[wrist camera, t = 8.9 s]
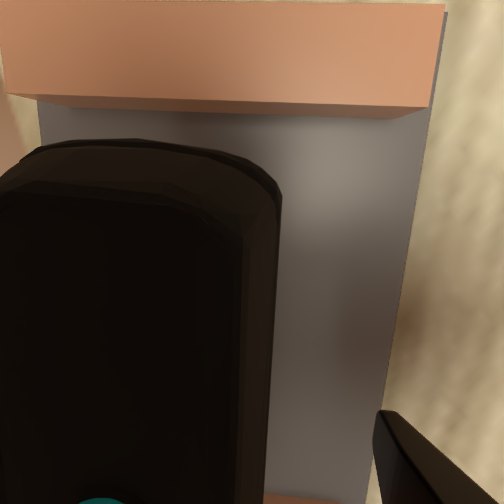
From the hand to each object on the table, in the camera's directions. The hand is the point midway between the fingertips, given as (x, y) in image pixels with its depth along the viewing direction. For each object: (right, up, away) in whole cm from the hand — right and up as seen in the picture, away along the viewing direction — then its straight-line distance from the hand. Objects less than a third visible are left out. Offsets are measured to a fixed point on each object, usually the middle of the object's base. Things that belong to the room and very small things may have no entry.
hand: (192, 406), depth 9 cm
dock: (0, +1, +5) cm, 5 cm away
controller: (0, +1, +4) cm, 4 cm away
